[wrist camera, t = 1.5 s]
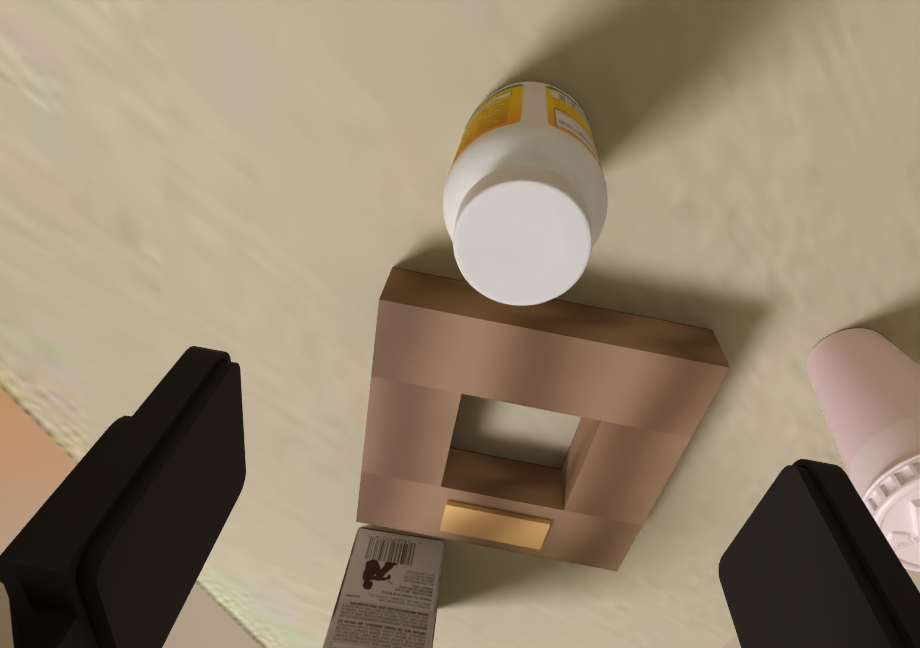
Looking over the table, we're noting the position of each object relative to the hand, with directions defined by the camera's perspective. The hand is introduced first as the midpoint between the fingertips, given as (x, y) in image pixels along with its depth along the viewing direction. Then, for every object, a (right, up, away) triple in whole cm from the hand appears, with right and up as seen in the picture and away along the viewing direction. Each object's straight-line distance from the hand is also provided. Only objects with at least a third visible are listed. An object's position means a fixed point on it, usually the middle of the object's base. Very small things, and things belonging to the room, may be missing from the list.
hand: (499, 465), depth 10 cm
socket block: (+3, -3, +23) cm, 23 cm away
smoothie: (+18, +1, +19) cm, 26 cm away
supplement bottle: (+2, +10, +14) cm, 18 cm away
